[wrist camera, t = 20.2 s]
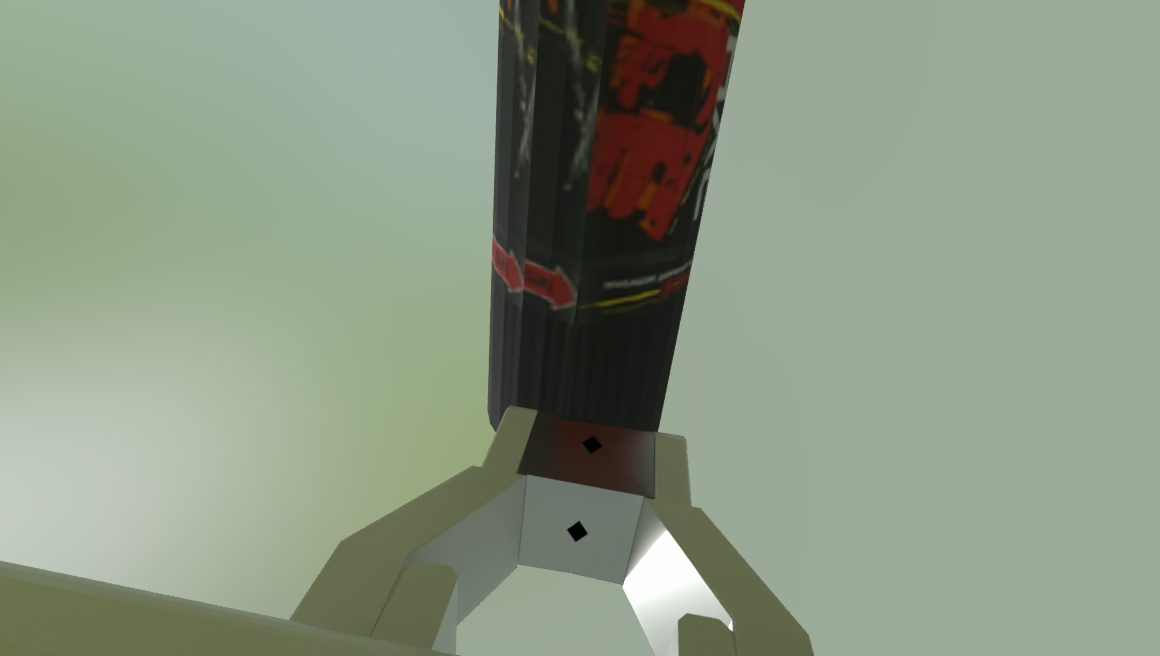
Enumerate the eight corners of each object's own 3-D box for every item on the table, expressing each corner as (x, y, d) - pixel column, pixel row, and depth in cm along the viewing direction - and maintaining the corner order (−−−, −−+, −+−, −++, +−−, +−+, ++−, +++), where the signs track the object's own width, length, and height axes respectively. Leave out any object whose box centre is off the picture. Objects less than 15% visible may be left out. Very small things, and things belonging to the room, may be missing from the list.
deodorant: (446, -169, 12) (450, 408, 18) (692, -215, 9) (590, 499, 15) (606, -95, 16) (563, 351, 23) (809, -108, 13) (690, 412, 20)
